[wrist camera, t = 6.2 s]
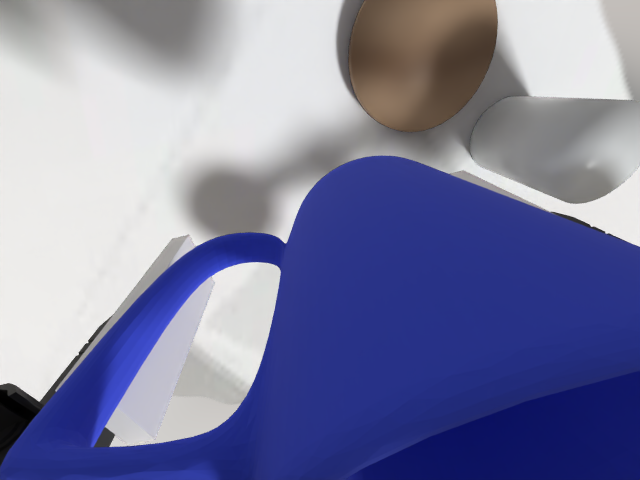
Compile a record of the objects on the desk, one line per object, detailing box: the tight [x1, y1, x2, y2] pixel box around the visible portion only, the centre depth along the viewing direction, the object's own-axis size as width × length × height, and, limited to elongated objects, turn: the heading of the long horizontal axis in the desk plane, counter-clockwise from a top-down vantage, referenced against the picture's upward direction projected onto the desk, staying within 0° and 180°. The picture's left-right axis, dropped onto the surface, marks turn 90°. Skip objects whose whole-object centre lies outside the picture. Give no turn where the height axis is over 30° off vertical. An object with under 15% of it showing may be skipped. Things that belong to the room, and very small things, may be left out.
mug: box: [0, 156, 640, 480], centre depth 8 cm, size 8×12×10 cm
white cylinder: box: [470, 96, 640, 204], centre depth 21 cm, size 6×6×9 cm
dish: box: [348, 0, 498, 132], centre depth 20 cm, size 11×11×1 cm
